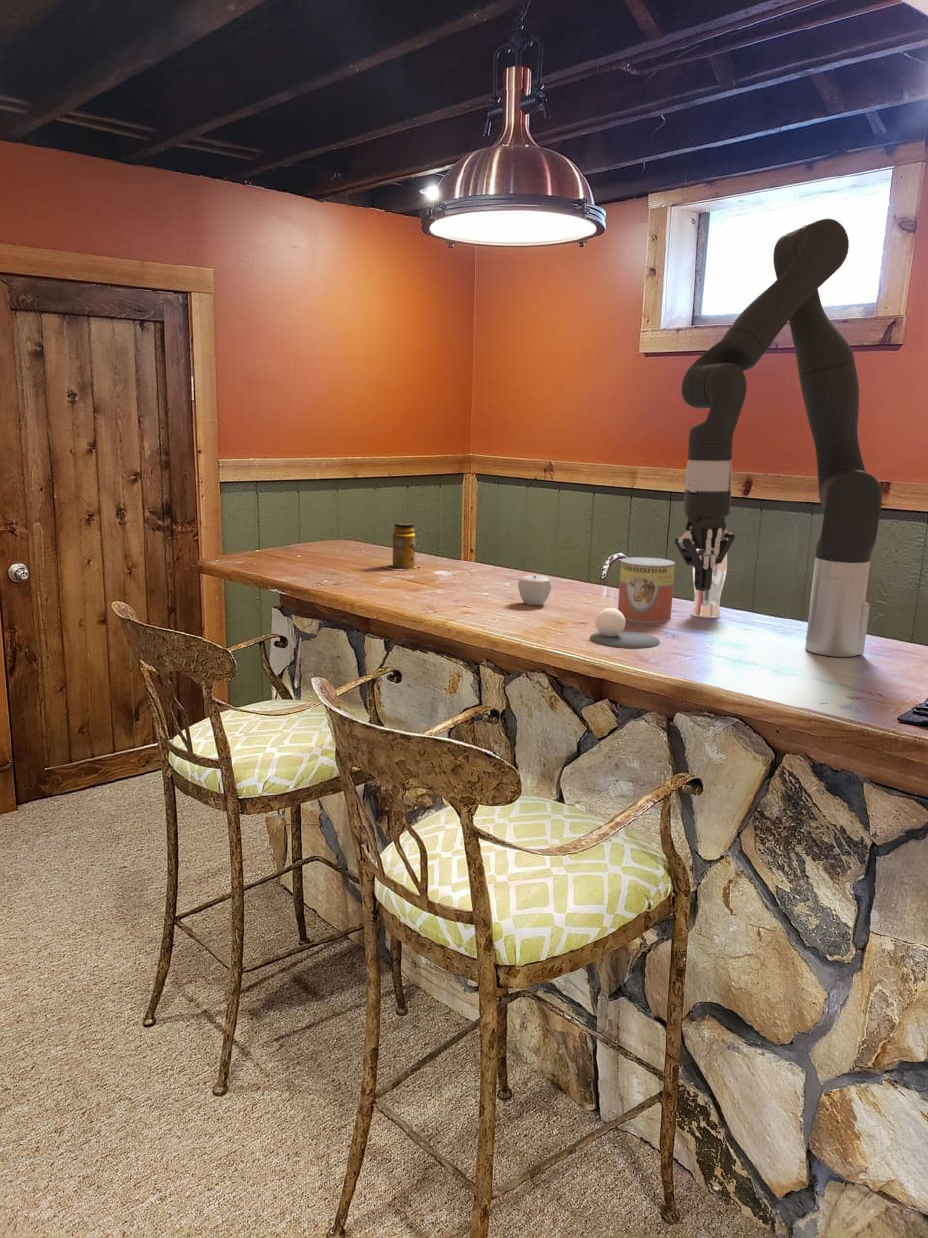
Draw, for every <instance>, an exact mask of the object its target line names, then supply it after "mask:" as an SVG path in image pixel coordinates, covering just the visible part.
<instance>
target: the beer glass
mask: <svg viewBox="0 0 928 1238" xmlns="http://www.w3.org/2000/svg"><path fill="white" fill-rule="evenodd" d="M711 549H712V548H711ZM718 554H719V553H718ZM718 554H717V555H716V556H718ZM727 567H728V552H727V553H726V555H725V557H724V559H723V561H722V563H720V564H716V565H715V567H714V568H713V570H712V584H711V589H710V590H706V591H700V590H696V589H695V585H694V584H693V589H694V590H693V591H694V597H693V598H694V600H693V605H692V608H691V612H690V614H691V616H693V617H695V618H700V619H709V620H710V619H713V620H714V619H718V618H721V608H720V607H721V605H720V604H721V603H720V602H721V595H722V591H723V588H724V584H725V581H726V580H725V579H726V576H727V569H728V568H727ZM692 579H693V580H692V581H693V583H694V581H695V580H694V579H695V568H694V567H693V566H692Z"/></svg>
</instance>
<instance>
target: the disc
mask: <svg viewBox="0 0 928 1238" xmlns="http://www.w3.org/2000/svg"><path fill="white" fill-rule="evenodd" d="M589 637H590V640H591V641H592V642H594V643H596V644H598V645H602V646H606V647H607V646H608V647H610V648H611V647H612V648H620V649H647V648H653V647H657V646H658V645H660V643H661V642H660V639H659V638H658V637H656V636H654V635H651V634H647V633H643V632H635V631H629V630H627V631H626V630H623V631H622V632H621V633H620V634H619V635H617V636H615V637H607V636H604V635H602V634H601V633H600V632H599V631H598V632H595V633H592V634H591V635H590V636H589Z"/></svg>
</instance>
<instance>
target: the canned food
mask: <svg viewBox="0 0 928 1238" xmlns="http://www.w3.org/2000/svg"><path fill="white" fill-rule="evenodd" d="M675 565H676V562H675V561H674V560H670V559H666V558H657V557H649V556H648V557H646V556H633V557H629V556H628V557H623V558H621V559H620V571H619V574H620V575H619V587H618V589H619V591H618V604H617V610H619V611H620V612H621V613H622V614H623V616H624V618H625V619H626V620H625V621H628V620H631V621H630V622H634V621H636V622H635V623H642V622H661V623H666V621H667V622H669V620H670V621H671V620H672V617H671V616H672V608H673V607H672V606H673V605H672V604H673V592H674V579H675V570H676V569H675V567H676V566H675Z"/></svg>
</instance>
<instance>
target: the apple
mask: <svg viewBox="0 0 928 1238" xmlns="http://www.w3.org/2000/svg"><path fill="white" fill-rule="evenodd" d="M517 587H518V591H519V595H520V598H521V599H522V601H523V603H524V604H525V605H528V606H541V605H543V604H545V602H546V601H547V600H548V598H549V596H550V593H551V591H552V590H551V589H552V585H551V581H550V579H549V577H548V576H544V575H539V574H538V575H537V574H530V575H524V576H520V577H519V579H518V582H517Z"/></svg>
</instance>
